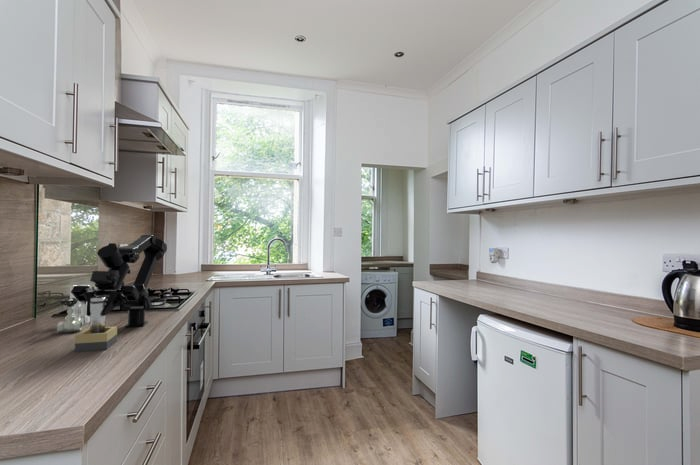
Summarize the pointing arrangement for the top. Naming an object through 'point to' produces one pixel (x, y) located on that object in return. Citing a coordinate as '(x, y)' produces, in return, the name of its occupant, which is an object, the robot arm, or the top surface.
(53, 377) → the top surface
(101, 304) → the metal tumbler
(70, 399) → the top surface
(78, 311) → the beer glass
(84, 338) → the collar block
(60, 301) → the valve
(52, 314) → the top surface
